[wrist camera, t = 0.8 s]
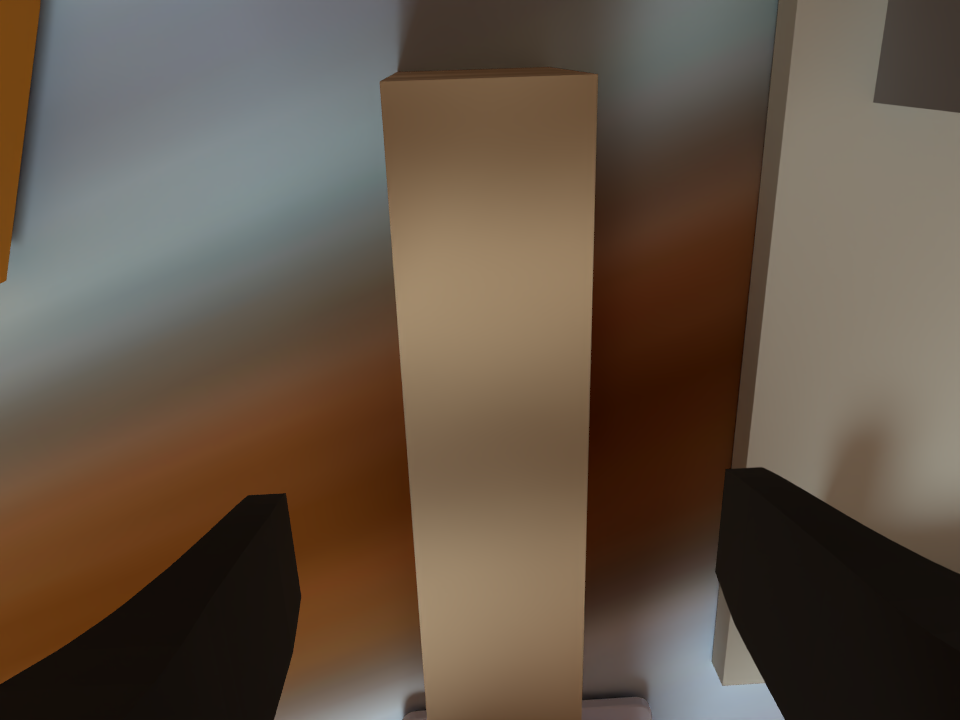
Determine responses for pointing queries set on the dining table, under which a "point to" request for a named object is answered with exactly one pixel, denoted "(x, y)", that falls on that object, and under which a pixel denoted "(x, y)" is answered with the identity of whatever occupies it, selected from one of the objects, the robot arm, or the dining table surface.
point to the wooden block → (496, 376)
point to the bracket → (13, 106)
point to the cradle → (857, 278)
